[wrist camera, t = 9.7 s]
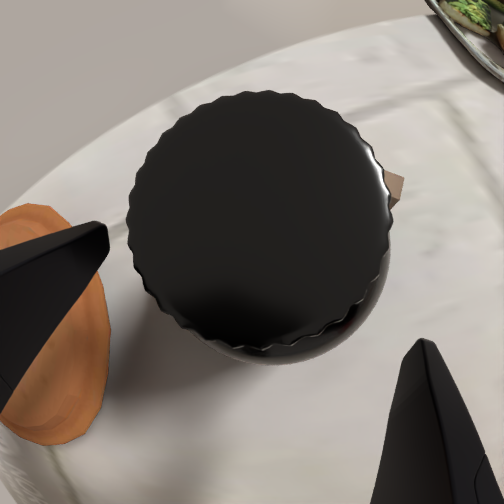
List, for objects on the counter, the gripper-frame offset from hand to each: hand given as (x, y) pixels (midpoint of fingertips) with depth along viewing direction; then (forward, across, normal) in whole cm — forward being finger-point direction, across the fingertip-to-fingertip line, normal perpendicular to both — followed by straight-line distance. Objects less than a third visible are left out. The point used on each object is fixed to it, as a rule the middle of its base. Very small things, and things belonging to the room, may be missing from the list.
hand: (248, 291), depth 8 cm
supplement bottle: (+8, 0, +5) cm, 9 cm away
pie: (+1, +14, +12) cm, 18 cm away
